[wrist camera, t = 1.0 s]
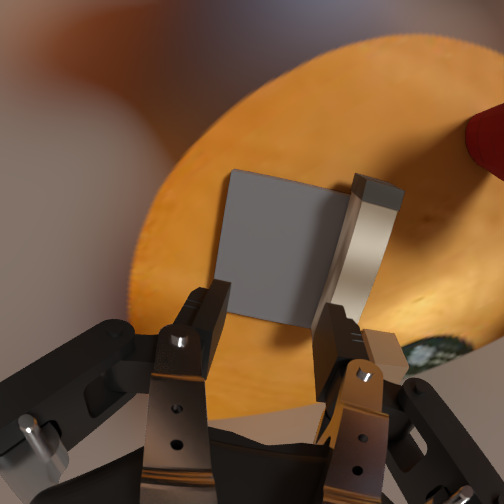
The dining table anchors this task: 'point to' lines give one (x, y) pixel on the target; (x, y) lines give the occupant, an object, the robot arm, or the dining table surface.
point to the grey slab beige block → (288, 256)
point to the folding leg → (360, 245)
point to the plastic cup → (487, 140)
